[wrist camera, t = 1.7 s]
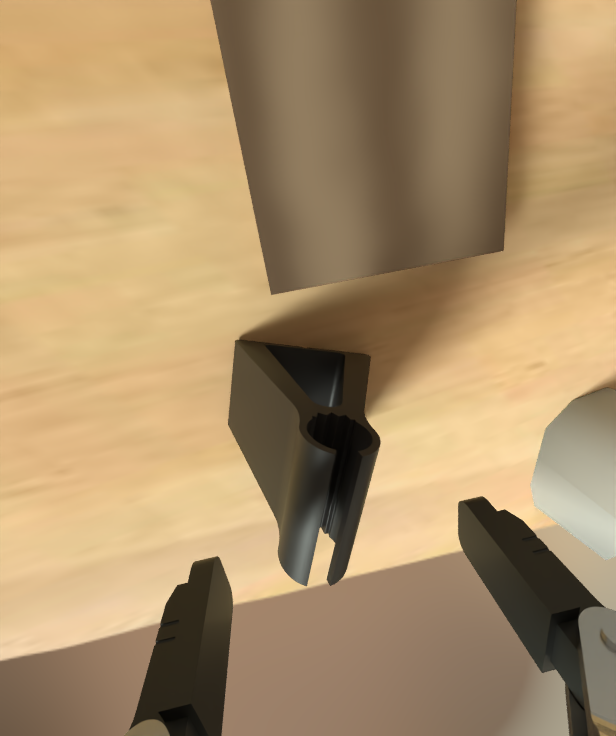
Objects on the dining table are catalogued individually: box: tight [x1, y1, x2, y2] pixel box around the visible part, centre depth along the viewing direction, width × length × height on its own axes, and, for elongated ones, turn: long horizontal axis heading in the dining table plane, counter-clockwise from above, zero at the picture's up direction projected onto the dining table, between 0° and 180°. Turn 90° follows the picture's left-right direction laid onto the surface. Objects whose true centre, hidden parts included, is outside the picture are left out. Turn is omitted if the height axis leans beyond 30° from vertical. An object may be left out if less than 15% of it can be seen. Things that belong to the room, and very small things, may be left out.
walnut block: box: [211, 0, 517, 295], centre depth 17 cm, size 13×13×3 cm
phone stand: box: [228, 340, 380, 586], centre depth 17 cm, size 9×6×12 cm, turn 80°
